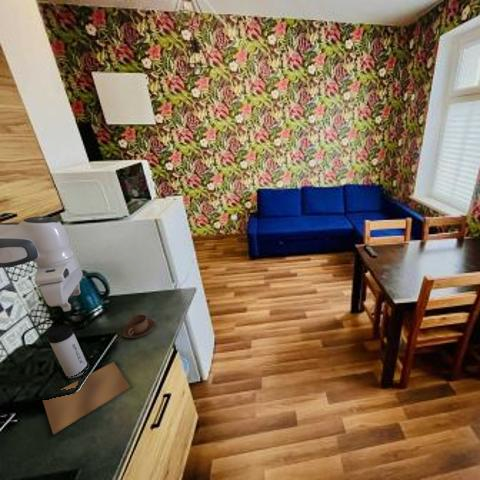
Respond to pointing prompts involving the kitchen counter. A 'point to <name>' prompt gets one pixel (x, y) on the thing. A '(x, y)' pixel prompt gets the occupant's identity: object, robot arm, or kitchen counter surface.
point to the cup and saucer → (138, 326)
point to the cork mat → (85, 397)
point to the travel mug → (67, 350)
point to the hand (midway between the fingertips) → (72, 301)
